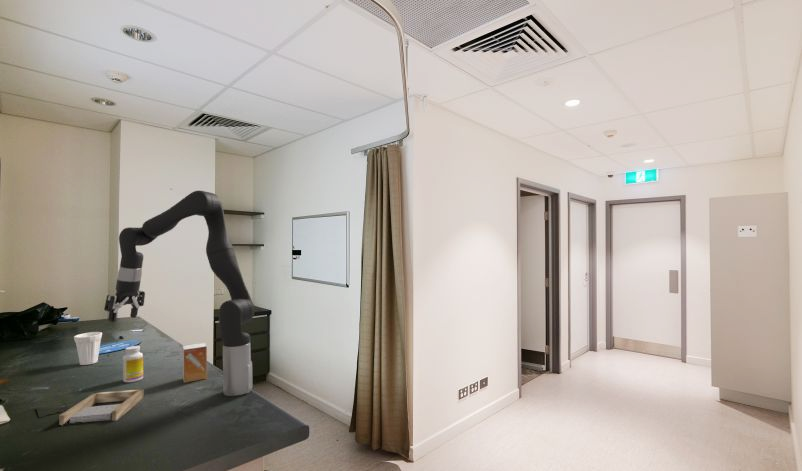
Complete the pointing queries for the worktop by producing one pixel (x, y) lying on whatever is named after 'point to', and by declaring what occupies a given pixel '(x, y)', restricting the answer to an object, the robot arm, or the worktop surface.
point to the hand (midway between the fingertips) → (122, 319)
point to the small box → (194, 362)
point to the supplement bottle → (132, 364)
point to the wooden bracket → (127, 396)
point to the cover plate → (94, 413)
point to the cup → (88, 347)
